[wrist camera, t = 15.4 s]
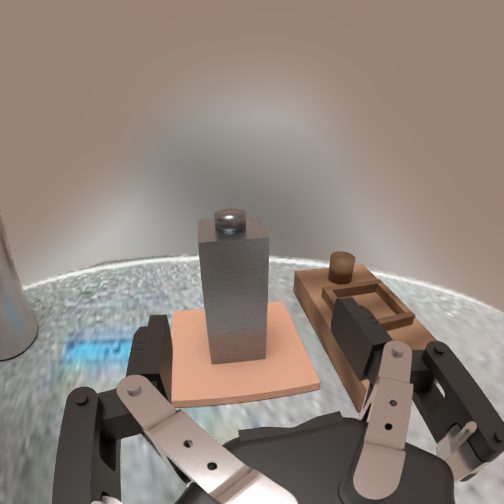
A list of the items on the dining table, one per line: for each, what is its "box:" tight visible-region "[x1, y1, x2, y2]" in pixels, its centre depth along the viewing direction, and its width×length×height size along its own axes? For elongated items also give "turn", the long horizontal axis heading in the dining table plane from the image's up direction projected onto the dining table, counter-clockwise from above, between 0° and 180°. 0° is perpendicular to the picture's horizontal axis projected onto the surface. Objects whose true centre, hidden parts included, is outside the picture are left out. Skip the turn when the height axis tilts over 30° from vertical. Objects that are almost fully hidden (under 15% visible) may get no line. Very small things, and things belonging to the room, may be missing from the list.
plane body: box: [293, 252, 438, 412], centre depth 29 cm, size 20×10×6 cm, turn 10°
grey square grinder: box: [198, 209, 269, 365], centre depth 25 cm, size 5×5×13 cm
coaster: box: [171, 301, 321, 408], centre depth 28 cm, size 13×13×1 cm
